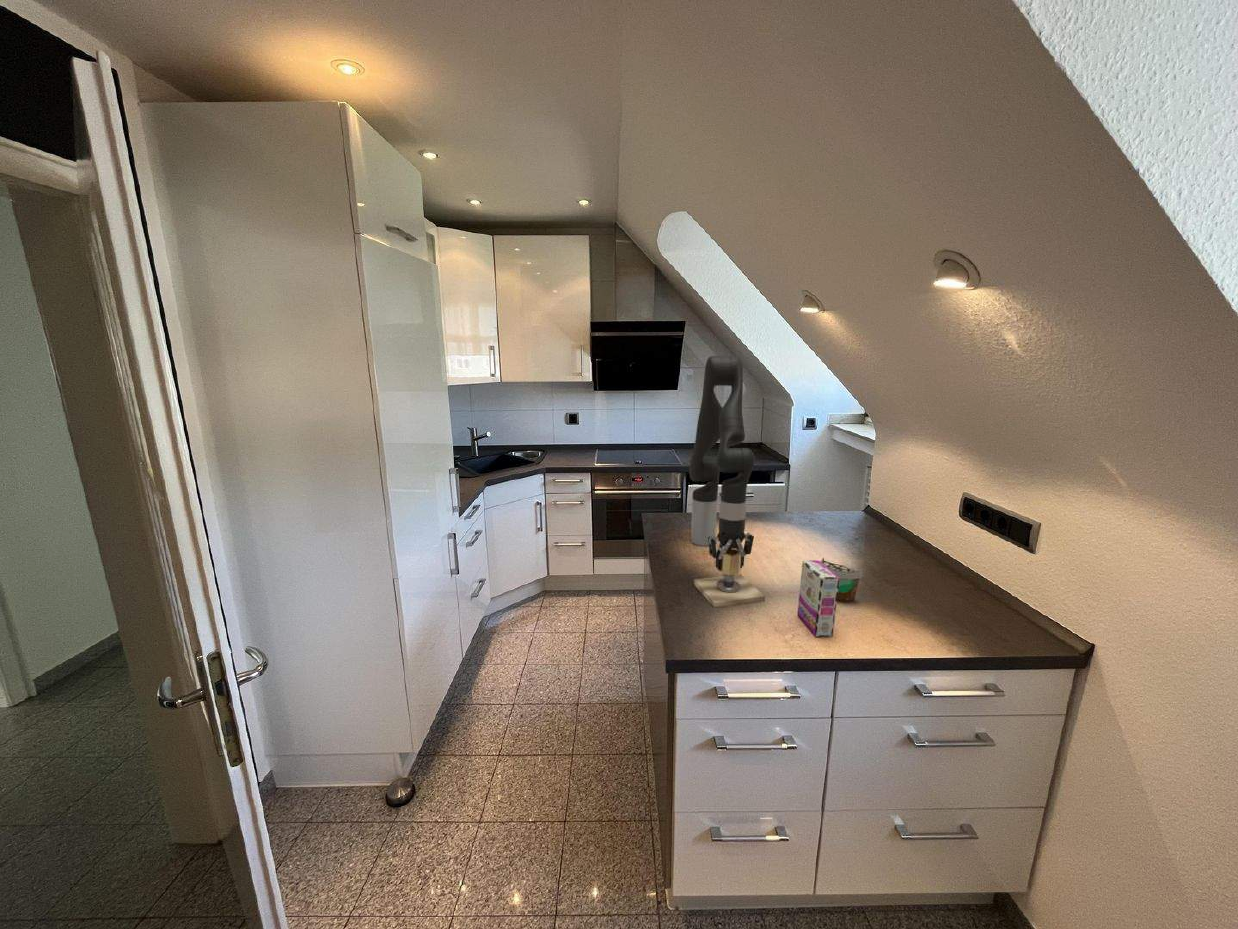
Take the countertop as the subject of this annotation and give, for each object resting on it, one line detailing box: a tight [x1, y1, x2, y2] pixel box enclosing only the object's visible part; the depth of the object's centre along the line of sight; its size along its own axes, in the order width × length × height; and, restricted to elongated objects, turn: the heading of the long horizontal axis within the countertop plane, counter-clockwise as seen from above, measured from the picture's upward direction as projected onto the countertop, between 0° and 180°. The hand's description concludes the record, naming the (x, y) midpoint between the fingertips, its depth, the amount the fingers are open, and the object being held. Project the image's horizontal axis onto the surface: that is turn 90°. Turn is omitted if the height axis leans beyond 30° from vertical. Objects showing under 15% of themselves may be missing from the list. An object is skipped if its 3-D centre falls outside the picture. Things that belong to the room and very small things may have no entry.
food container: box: [820, 557, 863, 603], centre depth 142 cm, size 12×6×10 cm, turn 40°
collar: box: [719, 548, 742, 575], centre depth 144 cm, size 6×6×6 cm
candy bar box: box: [797, 560, 840, 638], centre depth 127 cm, size 11×5×16 cm, turn 4°
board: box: [693, 573, 766, 608], centre depth 146 cm, size 15×16×2 cm
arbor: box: [717, 574, 740, 593], centre depth 145 cm, size 7×7×8 cm
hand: (729, 568), depth 145 cm, fingers closed on collar, 6 cm apart
